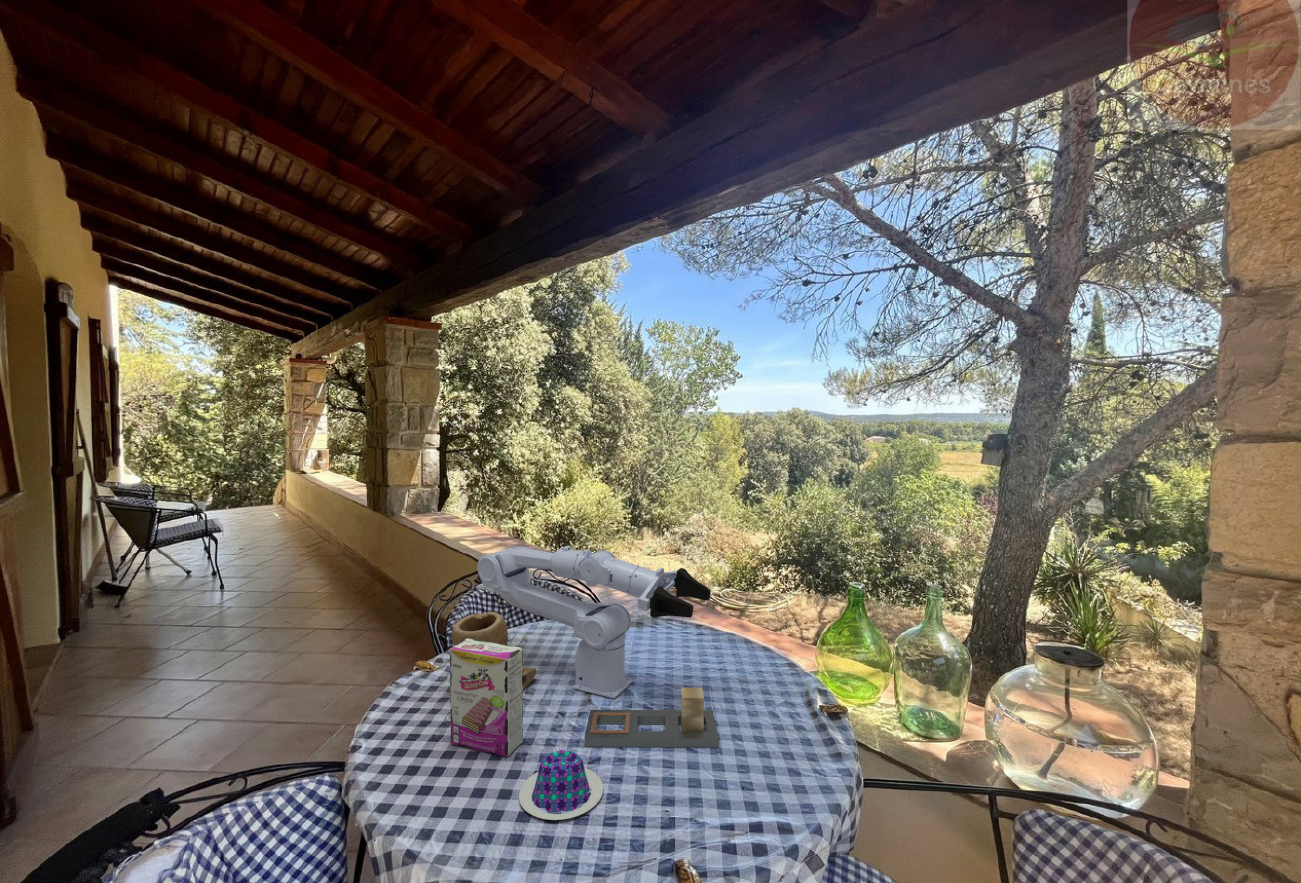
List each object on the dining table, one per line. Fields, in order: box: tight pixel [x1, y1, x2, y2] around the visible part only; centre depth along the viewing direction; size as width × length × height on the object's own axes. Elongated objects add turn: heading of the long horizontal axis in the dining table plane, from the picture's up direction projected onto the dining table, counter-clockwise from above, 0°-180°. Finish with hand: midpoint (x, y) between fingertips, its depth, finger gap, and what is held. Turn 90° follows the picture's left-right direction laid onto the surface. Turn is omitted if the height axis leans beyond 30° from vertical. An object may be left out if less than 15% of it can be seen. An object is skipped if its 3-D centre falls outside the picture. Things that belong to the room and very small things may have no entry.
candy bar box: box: [449, 638, 524, 758], centre depth 95 cm, size 11×5×16 cm, turn 71°
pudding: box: [518, 749, 604, 821], centre depth 83 cm, size 12×12×5 cm
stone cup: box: [451, 611, 538, 690], centre depth 114 cm, size 15×12×15 cm
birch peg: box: [680, 687, 705, 731], centre depth 99 cm, size 4×4×7 cm
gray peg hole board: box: [583, 709, 720, 748], centre depth 99 cm, size 22×9×2 cm, turn 90°
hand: (701, 603), depth 105 cm, fingers open, 7 cm apart
